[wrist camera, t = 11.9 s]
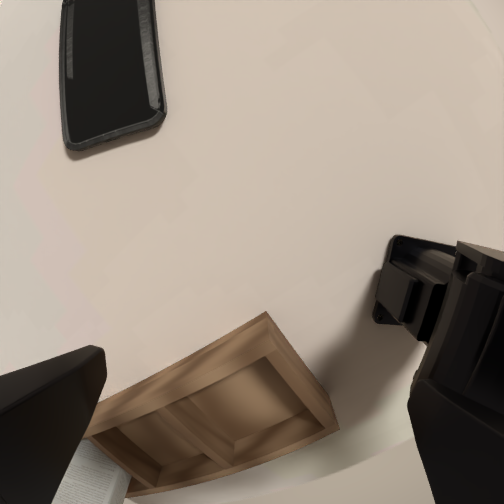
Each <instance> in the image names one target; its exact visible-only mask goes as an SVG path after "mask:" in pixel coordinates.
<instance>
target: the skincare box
mask: <svg viewBox="0 0 504 504" xmlns="http://www.w3.org/2000/svg"><path fill="white" fill-rule="evenodd" d="M131 477H132V476H131V475H130V474H129V473H128V472H126V471H125V470H124V469H122V468H121V467H120V466H119V465H117V464H116V463H115V462H114V461H112V460H111V459H110V458H109V457H108V456H106V455H105V454H104V453H103V452H102V451H101V450H99V449H98V448H97V447H96V446H95V445H94V444H93V443H92V442H90V441H89V440H88V439H87V438H83V439H82V440H81V442H80V444H79V446H78V448H77V450H76V452H75V454H74V456H73V458H72V460H71V462H70V464H69V466H68V469H67V471H66V473H65V475H64V477H63V479H62V481H61V484H60V486H59V488H58V490H57V492H56V495H55V497H54V499H53V501H52V504H123V502H124V498H125V495H126V492H127V489H128V486H129V483H130V480H131Z"/></svg>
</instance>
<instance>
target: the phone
mask: <svg viewBox="0 0 504 504" xmlns="http://www.w3.org/2000/svg"><path fill="white" fill-rule="evenodd" d="M59 89H60V109H61V123H62V134H63V141H64V144H65V146H66V147H67V148H68V149H70V150H75V151H82V150H85V149H88V147H89V148H91V147H94V146H97V145H99V144H102V143H105V142H108V141H111V140H114V139H118V138H121V137H124V136H127V135H130V134H134V133H137V132H141V131H144V130H148V129H151V128H154V127H156V126H158V125H160V124H161V123H162V122H163V120H164V119H165V117H166V114H167V102H166V95H165V88H164V81H163V73H162V66H161V58H160V49H159V40H158V31H157V21H156V11H155V0H63V3H62V11H61V24H60V43H59Z"/></svg>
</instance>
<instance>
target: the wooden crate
mask: <svg viewBox="0 0 504 504" xmlns="http://www.w3.org/2000/svg"><path fill="white" fill-rule="evenodd" d="M339 429H340V428H339V425H338V422H337V419H336V416H335V413H334V410H333V407H332V404H331V401H330V398H329V396H328V394H327V393H326V392H325V390H324V389H323V388H322V386H321V385H320V384H319V382H318V381H317V380H316V378H315V377H314V376H313V374H312V373H311V372H310V370H309V369H308V368H307V366H306V365H305V363H304V362H303V361H302V359H301V358H300V357H299V355H298V354H297V353H296V351H295V350H294V349H293V347H292V346H291V344H290V343H289V342H288V340H287V339H286V338H285V336H284V335H283V334H282V332H281V331H280V329H279V328H278V327H277V325H276V324H275V323H274V321H273V320H272V318H271V317H270V316H269V314H268V313H267V311H265V312H264V313H262V314H260V315H259V316H257V317H255V318H254V319H252V320H250V321H249V322H247V323H245V324H244V325H242V326H240V327H239V328H237V329H235V330H233V331H232V332H230V333H228V334H227V335H225V336H223V337H221V338H220V339H218V340H216V341H214V342H213V343H211V344H209V345H207V346H206V347H204V348H202V349H200V350H198V351H197V352H195V353H193V354H191V355H189V356H188V357H186V358H184V359H182V360H180V361H178V362H177V363H175V364H173V365H171V366H169V367H167V368H165V369H164V370H162V371H160V372H158V373H156V374H154V375H152V376H150V377H148V378H147V379H145V380H143V381H141V382H139V383H137V384H135V385H133V386H131V387H129V388H127V389H125V390H123V391H121V392H119V393H117V394H115V395H113V396H111V397H109V398H107V399H105V400H103V401H101V402H99V403H97V405H96V408H95V411H94V414H93V416H92V419H91V421H90V424H89V426H88V428H87V430H86V432H85V434H84V436H83V438H87V439H88V440H89V441H90V442H92V443H93V444H94V445H95V446H96V447H97V448H98V449H99V450H101V451H102V452H103V453H104V454H105V455H106V456H108V457H109V458H110V459H111V460H112V461H114V462H115V463H116V464H117V465H119V466H120V467H121V468H122V469H124V470H125V471H126V472H128V473H129V474H130V475H131V476H132V477H131V480H130V483H129V486H128V489H127V492H126V495H125V498H129V497H136V496H143V495H148V494H154V493H159V492H164V491H169V490H174V489H178V488H183V487H187V486H191V485H195V484H199V483H203V482H206V481H210V480H214V479H217V478H220V477H224V476H227V475H230V474H233V473H236V472H239V471H242V470H245V469H248V468H251V467H254V466H257V465H260V464H262V463H265V462H268V461H270V460H273V459H275V458H278V457H280V456H283V455H285V454H288V453H290V452H292V451H295V450H297V449H299V448H302V447H304V446H306V445H308V444H311V443H313V442H315V441H317V440H319V439H321V438H323V437H325V436H327V435H329V434H331V433H333V432H335V431H337V430H339ZM83 438H82V439H83Z"/></svg>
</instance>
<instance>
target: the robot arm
mask: <svg viewBox="0 0 504 504" xmlns="http://www.w3.org/2000/svg"><path fill="white" fill-rule="evenodd" d="M398 239H400V244H399V245H397V244H396V242H397V240H398ZM456 251H457V252H456ZM455 252H456V255H455ZM376 299H377V300H376V304H375V307H374V311H373V314H372V318H373V320H374V321H375V322H376V323H378V324H390V325H403V326H404V327H405V328H406V329H407V330H408V331H409V332H410V333H411V334H412V335H413V336H414V337H415V338H416V339H417V340H418V341H422V342H423V343H424V344H425V345H426V346H427V348H426V351H425V354H424V356H423V359H422V361H421V363H420V366H419V368H418V370H416V372H415V374H414V377H413V382H412V384H411V387H410V398H409V400H408V403H407V408H408V412H409V416H410V420H411V424H412V428H413V432H414V436H415V441H416V444H417V448H418V451H419V454H420V457H421V460H422V463H423V466H424V469H425V472H426V475H427V478H428V481H429V484H430V487H431V491H432V494H433V497H434V500H435V504H504V252H503V251H499V250H495V249H491V248H487V247H483V246H479V245H474V244H470V243H466V242H462V241H457V245H456V246H452V245H447V244H443V243H438V242H433V241H428V240H423V239H419V238H414V237H409V236H404V235H394V236H393V237H392V239H391V243H390V248H389V252H388V257H387V261H386V263H385V264H384V265H383V269H382V273H381V277H380V281H379V285H378V289H377V293H376ZM380 314H381V317H380V318H377V317H378V315H380ZM106 378H107V368H106V359H105V352H104V349H103V348H101V347H97V346H93V345H88V346H85V347H83V348H80V349H77V350H74V351H71V352H69V353H66V354H63V355H60V356H57V357H54V358H51V359H49V360H46V361H43V362H40V363H37V364H34V365H31V366H28V367H25V368H22V369H19V370H16V371H13V372H10V373H7V374H4V375H1V376H0V504H52V501H53V499H54V497H55V495H56V492H57V490H58V488H59V486H60V484H61V481H62V479H63V477H64V475H65V473H66V471H67V469H68V466H69V464H70V462H71V460H72V458H73V456H74V454H75V452H76V450H77V448H78V446H79V444H80V442H81V440H82V438H83V436H84V434H85V432H86V430H87V428H88V426H89V424H90V421H91V419H92V416H93V414H94V411H95V408H96V405H97V403H98V400H99V397H100V395H101V392H102V389H103V387H104V384H105V382H106Z"/></svg>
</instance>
